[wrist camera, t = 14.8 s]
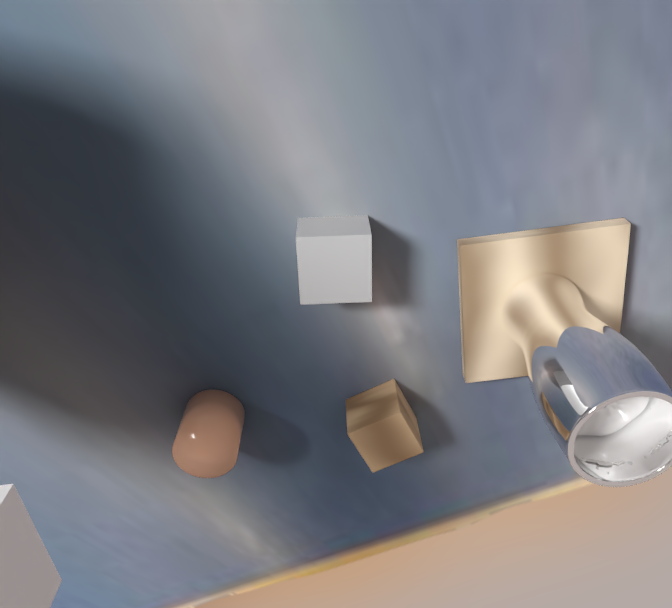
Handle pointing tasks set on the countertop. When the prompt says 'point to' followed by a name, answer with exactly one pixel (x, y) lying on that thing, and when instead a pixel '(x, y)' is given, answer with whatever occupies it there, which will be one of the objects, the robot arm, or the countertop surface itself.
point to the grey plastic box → (334, 259)
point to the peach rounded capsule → (209, 434)
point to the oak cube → (383, 426)
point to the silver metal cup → (590, 384)
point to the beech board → (526, 261)
